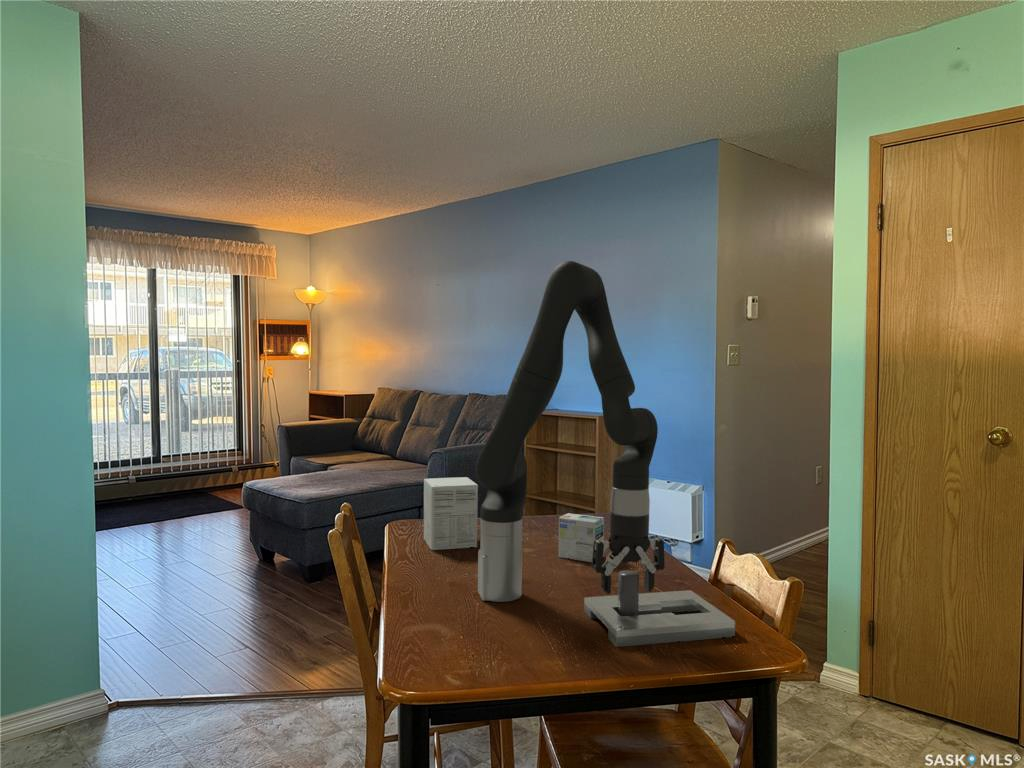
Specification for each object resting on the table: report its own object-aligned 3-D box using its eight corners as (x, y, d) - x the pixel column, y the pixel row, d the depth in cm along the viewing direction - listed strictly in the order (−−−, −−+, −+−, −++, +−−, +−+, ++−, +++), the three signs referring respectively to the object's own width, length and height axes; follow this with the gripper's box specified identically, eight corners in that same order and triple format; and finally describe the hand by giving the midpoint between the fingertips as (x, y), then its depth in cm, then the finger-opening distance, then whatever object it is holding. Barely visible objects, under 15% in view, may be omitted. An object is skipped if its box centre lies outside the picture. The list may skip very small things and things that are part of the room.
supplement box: (478, 547, 194) (478, 484, 193) (430, 551, 190) (431, 486, 189) (467, 535, 206) (468, 476, 206) (422, 538, 203) (423, 478, 202)
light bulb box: (604, 557, 186) (605, 516, 186) (595, 563, 180) (596, 521, 180) (567, 551, 191) (567, 512, 191) (557, 557, 185) (557, 516, 185)
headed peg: (619, 633, 135) (620, 579, 135) (607, 621, 141) (608, 569, 141) (648, 630, 137) (649, 577, 136) (635, 619, 142) (636, 568, 142)
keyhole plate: (616, 646, 129) (616, 630, 129) (584, 611, 146) (584, 597, 146) (734, 636, 134) (735, 621, 134) (690, 603, 152) (690, 590, 152)
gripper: (601, 515, 133) (599, 600, 133) (671, 513, 136) (669, 596, 136) (588, 506, 140) (586, 587, 141) (655, 504, 143) (653, 583, 144)
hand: (627, 591), depth 138 cm, fingers open, 8 cm apart
